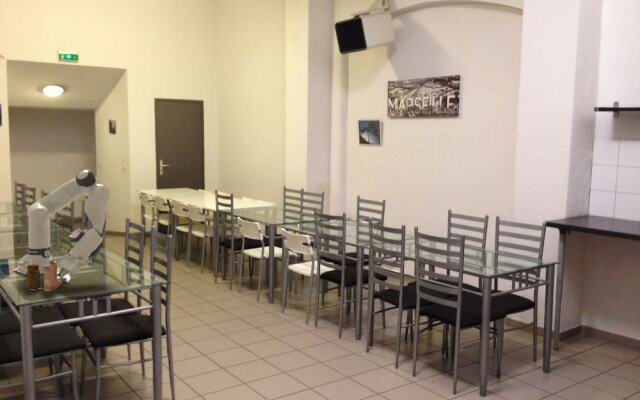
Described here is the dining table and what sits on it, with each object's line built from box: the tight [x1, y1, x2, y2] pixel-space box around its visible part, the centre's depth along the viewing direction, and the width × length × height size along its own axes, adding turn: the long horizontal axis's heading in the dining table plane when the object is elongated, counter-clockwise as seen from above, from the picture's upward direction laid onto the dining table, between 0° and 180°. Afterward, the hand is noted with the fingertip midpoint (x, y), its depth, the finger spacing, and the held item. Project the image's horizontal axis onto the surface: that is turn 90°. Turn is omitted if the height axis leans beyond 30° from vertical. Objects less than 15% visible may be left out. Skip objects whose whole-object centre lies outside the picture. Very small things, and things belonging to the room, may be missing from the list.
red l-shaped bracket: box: [49, 259, 62, 293], centre depth 296 cm, size 16×2×16 cm, turn 11°
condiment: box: [26, 264, 45, 290], centre depth 294 cm, size 7×8×12 cm
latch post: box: [43, 265, 50, 292], centre depth 291 cm, size 4×4×13 cm
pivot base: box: [57, 277, 68, 285], centre depth 307 cm, size 5×5×3 cm
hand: (59, 277), depth 293 cm, fingers closed
